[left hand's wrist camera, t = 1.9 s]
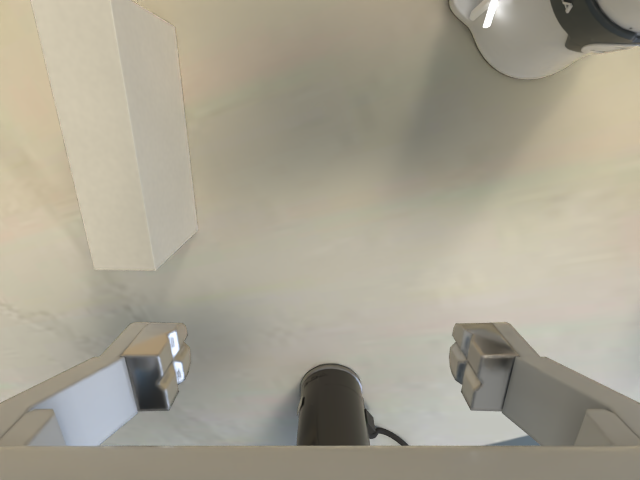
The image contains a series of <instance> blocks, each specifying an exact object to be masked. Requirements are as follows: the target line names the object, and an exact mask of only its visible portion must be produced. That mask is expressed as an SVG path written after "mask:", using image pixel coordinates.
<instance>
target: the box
mask: <svg viewBox="0 0 640 480" xmlns="http://www.w3.org/2000/svg"><path fill="white" fill-rule="evenodd" d="M30 1H31V5H32V9H33V14H34V18H35V22H36V26H37V30H38V35H39V39H40V43H41V47H42V52H43V56H44V60H45V64H46V68H47V73H48V77H49V81H50V85H51V90H52V94H53V98H54V102H55V106H56V111H57V115H58V119H59V123H60V127H61V132H62V136H63V140H64V144H65V149H66V153H67V157H68V161H69V165H70V170H71V174H72V178H73V182H74V187H75V191H76V195H77V199H78V203H79V208H80V212H81V216H82V220H83V224H84V229H85V233H86V237H87V241H88V246H89V250H90V254H91V258H92V262H93V267H94V270H134V271H156V270H157V269H158V268H159V267H160V266H161V265H162V264H163V263H164V262H165V261H166V260H167V259H169V258H170V257H171V256H172V255H173V254H174V253H175V252H176V251H177V250H178V249H179V248H180V247H181V246H182V245H183V244H184V243H185V242H186V241H187V240H189V239H190V238H191V237H192V236H193V235H194V234H195V233H196V232H197V231H198V224H197V216H196V207H195V198H194V189H193V180H192V171H191V162H190V154H189V145H188V136H187V127H186V118H185V109H184V100H183V92H182V83H181V74H180V65H179V56H178V47H177V38H176V30H175V26H174V25H172V24H170V23H169V22H167V21H165V20H163V19H162V18H160V17H158V16H157V15H155V14H153V13H152V12H150V11H148V10H147V9H145V8H143V7H141V6H140V5H138V4H136V3H135V2H133V1H131V0H30Z"/></svg>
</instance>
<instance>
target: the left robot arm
mask: <svg viewBox="0 0 640 480" xmlns="http://www.w3.org/2000/svg"><path fill="white" fill-rule="evenodd" d="M449 5H450V8H451V10H452V12H453V13H454V15H455V16H456V17H457V18H458V19H460V20H461V21H462V22H463V23H464V24H465V25H467V26H468V28H469V29H470V31H471V33H472V35H473V37H474V40H475V42H476V45H477V47H478V49H479V51H480V52H481V54H482V55H483V57H484V58H485V59H486V61H487V62H488V63H489V64H490V65H491V66H492V67H494V68H495V69H496V70H498V71H499V72H501V73H503V74H505V75H507V76H510V77H513V78H517V79H538V78H543V77H547V76H550V75H553V74H555V73H557V72H559V71H562V70H563V69H565V68H567V67H568V66H570V65H571V64H573V63H574V62H575V61H577V60H579V59H581V58H583V57H585V56H587V55H590V54H603V53H609V52H615V51H620V50H626V49H630V48H635V47H639V46H640V0H449ZM187 336H188V334H187V329H186V325H185V324H183V323H157V322H151V323H149V322H134V323H131V324H129V325H128V326H127V328H126V329H125V330H124V331H123V332H122V333H121V334H120V335H119V336H118V337H117V338H116V340H115V341H114V342H113V343H112V344H111V345H110V346H109V347H108V348H107V349H106V350H105V352H104V353H103V354H102V355H101V356H100V357H93V358H91V359H89V360H87V361H85V362H83V363H81V364H79V365H77V366H75V367H72V368H70V369H68V370H66V371H64V372H62V373H60V374H58V375H56V376H54V377H52V378H50V379H48V380H46V381H44V382H42V383H40V384H38V385H36V386H34V387H32V388H30V389H28V390H26V391H24V392H22V393H20V394H17V395H15V396H13V397H11V398H9V399H7V400H5V401H3V402H1V403H0V480H640V403H639V402H637V401H634V400H632V399H630V398H628V397H626V396H624V395H622V394H620V393H618V392H616V391H614V390H612V389H610V388H608V387H606V386H604V385H602V384H600V383H598V382H596V381H594V380H592V379H590V378H588V377H586V376H584V375H582V374H580V373H578V372H576V371H574V370H572V369H569V368H567V367H565V366H563V365H561V364H559V363H557V362H555V361H553V360H551V359H549V358H547V357H540V356H539V355H538V354H537V353H536V352H535V350H534V349H533V348H532V347H531V346H530V345H529V344H528V343H527V342H526V341H525V340H524V338H523V337H522V336H521V335H520V334H519V333H518V332H517V331H516V330H515V329H514V328H513V326H512V325H511V324H509V323H507V322H493V323H457V324H455V326H454V328H453V333H452V336H453V337H454V339H455V341H456V342H455V343H454V344H453V345H452V346H451V347H450V353H449V362H450V368H451V372H452V374H453V377H454V379H455V380H456V381H457V382H459V383H460V384H462V390H461V392H462V394H463V396H464V398H465V400H466V402H467V404H468V406H469V408H470V410H474V411H502V413H503V414H504V415H505V416H506V417H508V418H509V419H510V420H511V421H512V422H514V423H515V424H516V425H517V426H518V427H520V428H521V429H522V430H523V431H524V432H526V433H527V434H528V435H529V436H530V437H532V438H533V439H534V440H535V441H536V442H538V443H539V444H540V445H541V446H99V445H100V444H101V443H102V442H104V441H105V440H106V439H107V438H108V437H110V436H111V435H112V434H113V433H115V432H116V431H117V430H118V429H119V428H121V427H122V426H123V425H124V424H125V423H127V422H128V421H129V420H130V419H131V418H133V417H134V416H135V415H136V414H137V413H138V411H165V410H170V408H171V406H172V404H173V402H174V400H175V398H176V396H177V394H178V392H179V390H178V384H180V383H181V382H183V381H184V380H185V379H186V376H187V374H188V372H189V368H190V363H191V352H190V347H189V346H188V345H187V344H186V343H185V342H184V341H185V339H186V337H187Z"/></svg>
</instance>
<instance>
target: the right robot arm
mask: <svg viewBox="0 0 640 480" xmlns="http://www.w3.org/2000/svg"><path fill="white" fill-rule="evenodd" d="M298 412H299V421H298V435H297V446H370V441H369V439H373V438H375V437H376V436H377V435H378V433H380V434H384V435H387V436H389V437H391V438H392V439H394V440H395V441H397V442H398V443H399V444H400V445H402V446H408V445H407V444H406V443H405V442H404V441H403V440H402V439H401V438H399V437H398V436H397V435H395V434H394V433H392V432H390V431H388V430H386V429H382V428H376V429H375V426H374V420H373V417H372V415H371V414H370V413H369V412H368V411H367V410H366V409H365V407H364V400H363V397H362V386H361V382H360V379H359V378H358V376H357V375H356V374H355V373H354V372H353V371H352V370H350V369H349V368H347V367H344V366H341V365H336V364H327V365H321V366H318V367H316V368H314V369H312V370H311V371H309V372H308V373H307V374H306V375H305V376H304V378H303V380H302V382H301V387H300V403H299V406H298V410H297V415H298Z"/></svg>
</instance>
